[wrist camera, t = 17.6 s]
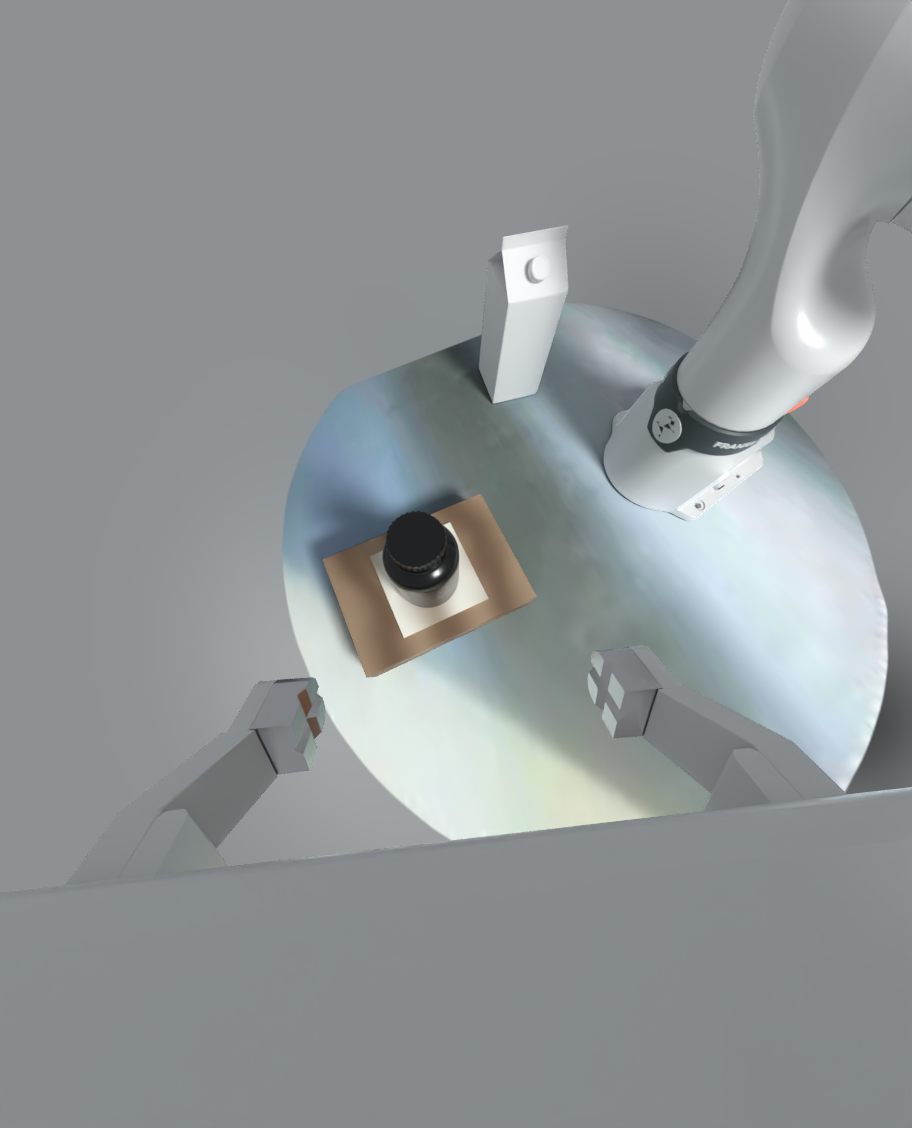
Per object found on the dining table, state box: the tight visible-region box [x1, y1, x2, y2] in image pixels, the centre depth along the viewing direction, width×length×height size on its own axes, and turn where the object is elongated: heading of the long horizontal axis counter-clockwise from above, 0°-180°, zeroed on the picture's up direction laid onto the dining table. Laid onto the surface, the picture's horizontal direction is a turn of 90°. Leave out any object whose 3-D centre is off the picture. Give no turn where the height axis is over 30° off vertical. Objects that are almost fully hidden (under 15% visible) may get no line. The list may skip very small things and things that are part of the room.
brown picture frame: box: [322, 494, 536, 677], centre depth 41 cm, size 20×14×5 cm
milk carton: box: [479, 225, 568, 403], centre depth 44 cm, size 7×7×19 cm
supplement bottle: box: [382, 511, 459, 608], centre depth 32 cm, size 7×7×12 cm
